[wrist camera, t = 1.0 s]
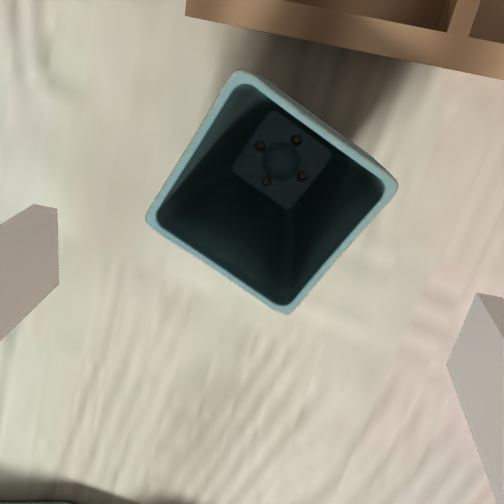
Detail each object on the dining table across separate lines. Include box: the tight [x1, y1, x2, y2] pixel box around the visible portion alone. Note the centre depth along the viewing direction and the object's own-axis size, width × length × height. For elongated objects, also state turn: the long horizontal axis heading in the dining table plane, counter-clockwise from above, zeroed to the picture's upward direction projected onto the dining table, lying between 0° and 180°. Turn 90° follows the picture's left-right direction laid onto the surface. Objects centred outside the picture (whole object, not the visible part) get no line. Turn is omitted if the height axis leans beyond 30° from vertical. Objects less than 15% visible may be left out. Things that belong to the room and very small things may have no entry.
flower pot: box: [145, 69, 398, 315], centre depth 26 cm, size 9×9×9 cm
